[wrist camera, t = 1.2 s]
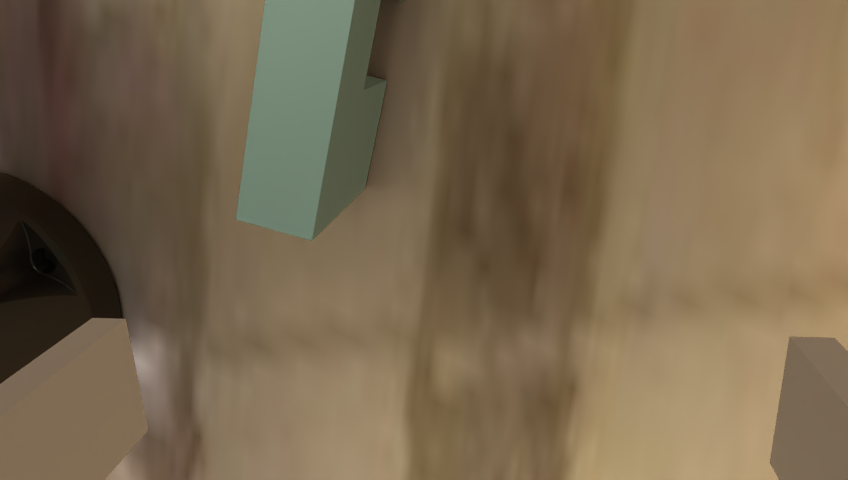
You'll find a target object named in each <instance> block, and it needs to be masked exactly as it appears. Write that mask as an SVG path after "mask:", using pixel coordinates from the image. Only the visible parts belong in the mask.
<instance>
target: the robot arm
mask: <svg viewBox="0 0 848 480" xmlns="http://www.w3.org/2000/svg"><path fill="white" fill-rule="evenodd" d="M147 431H148V427H147V422H146V417H145V412H144V407H143V402H142V397H141V392H140V387H139V382H138V377H137V372H136V367H135V362H134V357H133V352H132V347H131V342H130V338H129V333H128V328H127V323H126V319H121V311H120V305H119V299H118V295H117V291H116V288H115V285H114V282H113V279H112V276H111V274H110V272H109V269H108V267H107V265H106V263H105V261H104V259H103V257H102V255H101V254H100V252H99V250H98V249H97V247H96V246H95V244H94V243H93V241H92V240H91V238H90V237H89V236H88V234H87V233H86V232H85V230H84V229H83V228H82V227H81V226H80V225H79V223H78V222H77V221H76V220H75V219H74V218H73V217H72V216H71V215H70V214H69V213H68V212H67V211H66V210H65V209H64V208H62V207H61V206H60V205H59V204H58V203H56V202H55V201H54V200H53V199H51V198H50V197H49V196H47V195H46V194H44V193H43V192H41V191H40V190H38V189H36V188H35V187H33V186H31V185H29V184H28V183H25V182H23V181H21V180H19V179H17V178H14V177H12V176H9V175H7V174H4V173H0V480H105V478H106V477H107V476H108V475H109V474H110V473H111V472H112V471H113V469H114V468H115V467H116V466H117V465H118V464H119V463H120V462H121V460H122V459H123V458H124V457H125V456H126V455H127V454H128V453H129V451H130V450H131V449H132V448H133V447H134V446H135V445H136V443H137V442H138V441H139V440H140V439H141V438H142V437H143V436H144V434H145V433H146V432H147ZM770 464H771V466H772V467H773V469H774V471H775V473H776V475H777V476H778V478H779V480H848V351H847V350H846V349H845V348H844V347H843V346H842V345H841V344H840V343H839V342H838V341H837V340H836V339H835V338H823V337H789V343H788V350H787V356H786V362H785V369H784V375H783V381H782V388H781V394H780V401H779V407H778V413H777V420H776V426H775V433H774V439H773V445H772V452H771V458H770Z"/></svg>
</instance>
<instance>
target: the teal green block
mask: <svg viewBox="0 0 848 480" xmlns="http://www.w3.org/2000/svg"><path fill="white" fill-rule="evenodd" d="M400 1H404V0H400ZM380 3H381V0H265V5H264V12H263V20H262V27H261V35H260V42H259V50H258V57H257V65H256V72H255V80H254V87H253V95H252V102H251V110H250V117H249V125H248V132H247V139H246V147H245V154H244V162H243V169H242V177H241V184H240V192H239V199H238V207H237V214H236V220H239V221H243V222H246V223H250V224H253V225H257V226H260V227H264V228H268V229H271V230H275V231H278V232H282V233H285V234H289V235H293V236H296V237H300V238H303V239H307V240H310V241H312V240H313V239H314V238H315V237H316V236H317V235H318V234H319V233H320V232H321V231H322V230H323V229H324V228H325V227H326V226H327V225H328V224H329V223H330V222H331V221H332V220H333V219H334V218H335V217H337V216H338V215H339V214H340V213H341V212H342V211H343V210H344V209H345V208H346V207H347V206H348V205H349V204H350V203H351V202H352V201H353V200H354V199H355V198H356V197H357V196H358V195H359V194H360V193H361V192H362V191H363V190H364V189H365V187H366V182H367V177H368V172H369V167H370V162H371V157H372V152H373V147H374V143H375V138H376V133H377V128H378V123H379V118H380V113H381V108H382V103H383V99H384V94H385V89H386V84H387V80H384V79H380V78H376V77H372V76H368V75H367V70H368V65H369V60H370V55H371V50H372V44H373V39H374V34H375V29H376V24H377V19H378V13H379V8H380Z"/></svg>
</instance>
